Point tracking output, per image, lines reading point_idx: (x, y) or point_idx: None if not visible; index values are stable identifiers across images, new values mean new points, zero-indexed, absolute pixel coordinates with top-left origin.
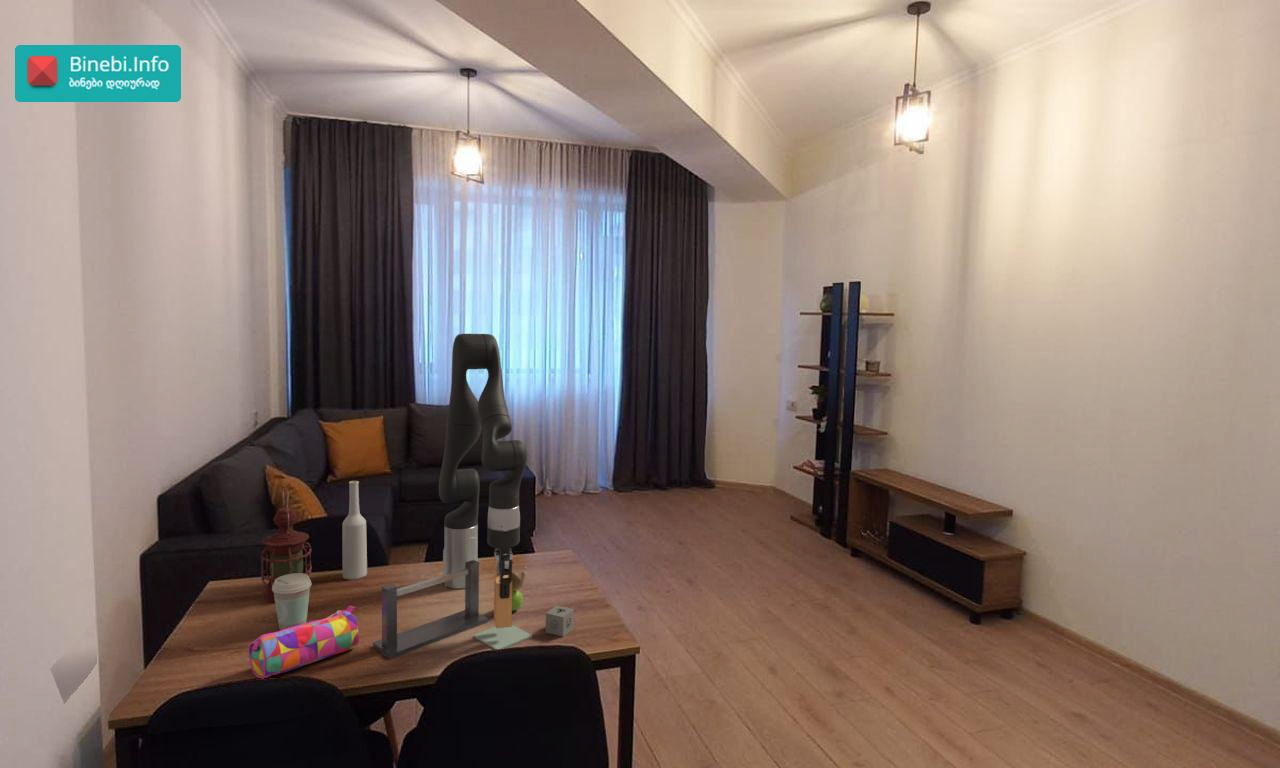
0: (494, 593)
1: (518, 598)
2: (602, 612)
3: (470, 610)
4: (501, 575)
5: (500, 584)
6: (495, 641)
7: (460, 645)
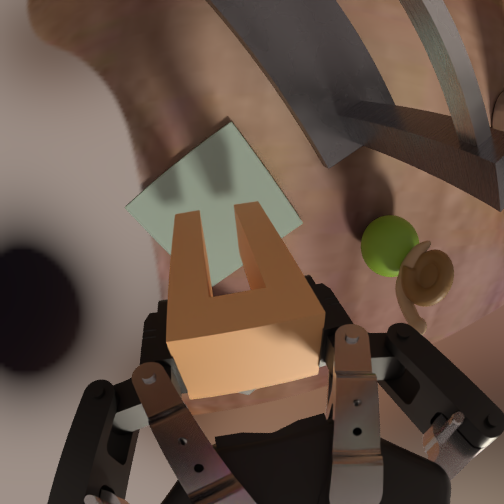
0: (272, 253)
1: (375, 269)
2: (297, 390)
3: (352, 117)
4: (68, 438)
5: (155, 358)
6: (177, 196)
7: (175, 87)
